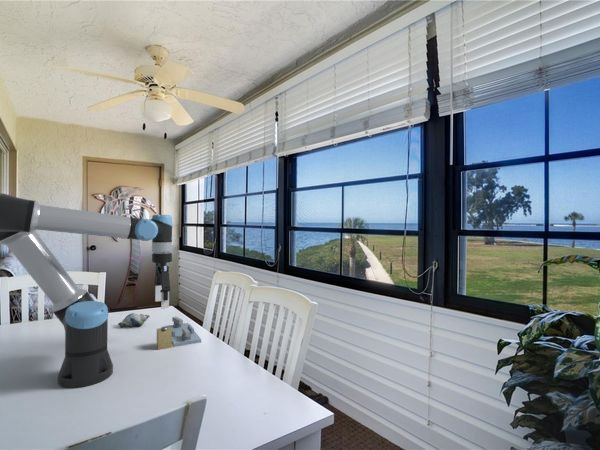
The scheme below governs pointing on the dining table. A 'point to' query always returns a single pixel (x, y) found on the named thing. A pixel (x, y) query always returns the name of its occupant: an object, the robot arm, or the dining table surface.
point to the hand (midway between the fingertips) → (161, 304)
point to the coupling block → (164, 338)
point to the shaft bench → (183, 333)
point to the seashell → (134, 320)
